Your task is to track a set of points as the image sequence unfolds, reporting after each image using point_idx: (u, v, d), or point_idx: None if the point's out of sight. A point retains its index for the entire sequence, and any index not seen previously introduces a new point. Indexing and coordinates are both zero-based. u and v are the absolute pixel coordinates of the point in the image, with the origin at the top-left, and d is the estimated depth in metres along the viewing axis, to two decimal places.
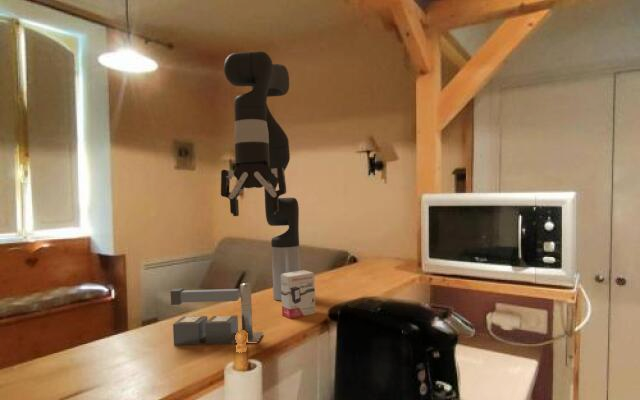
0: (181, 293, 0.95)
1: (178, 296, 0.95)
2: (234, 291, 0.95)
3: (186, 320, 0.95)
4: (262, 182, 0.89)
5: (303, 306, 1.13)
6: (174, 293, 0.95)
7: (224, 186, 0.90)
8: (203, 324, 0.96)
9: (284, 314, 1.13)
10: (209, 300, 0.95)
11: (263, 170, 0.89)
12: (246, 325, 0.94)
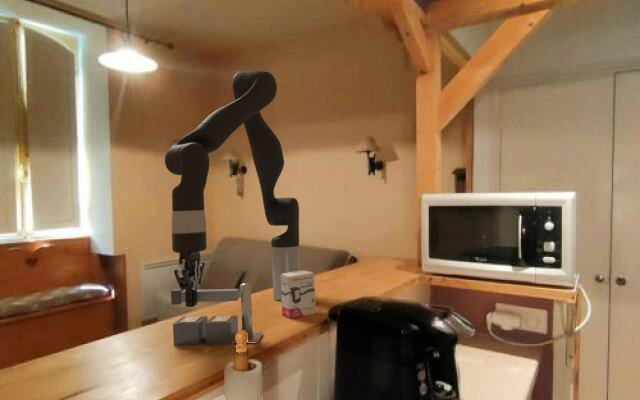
0: (181, 293, 0.96)
1: (178, 296, 0.95)
2: (234, 291, 0.95)
3: (186, 320, 0.95)
4: None
5: (303, 306, 1.13)
6: (174, 293, 0.95)
7: None
8: (203, 324, 0.96)
9: (284, 314, 1.13)
10: (209, 300, 0.95)
11: None
12: (246, 325, 0.94)
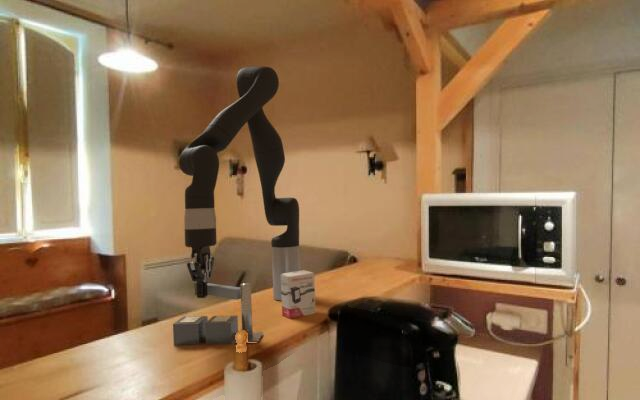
0: None
1: None
2: (235, 290, 0.96)
3: (186, 320, 0.95)
4: None
5: (303, 306, 1.13)
6: (196, 284, 1.04)
7: None
8: (203, 324, 0.96)
9: (284, 314, 1.13)
10: (219, 295, 1.00)
11: None
12: (246, 325, 0.94)
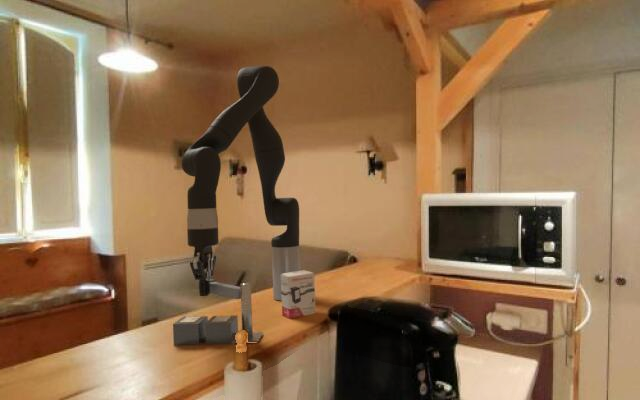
0: None
1: None
2: (236, 289, 0.97)
3: (186, 320, 0.95)
4: None
5: (303, 306, 1.13)
6: None
7: None
8: (203, 324, 0.96)
9: (284, 314, 1.13)
10: (222, 294, 1.01)
11: None
12: (246, 325, 0.94)
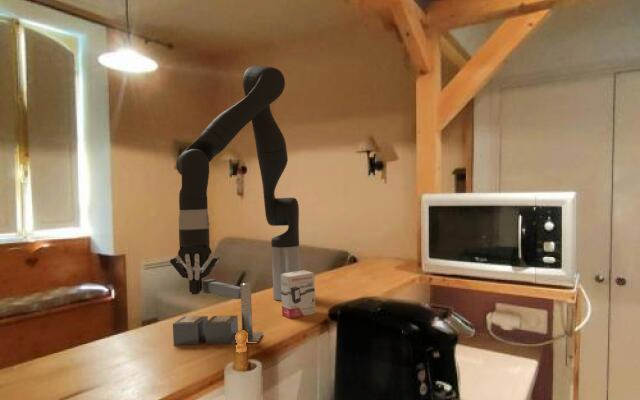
0: (209, 284, 1.06)
1: (206, 286, 1.06)
2: (236, 289, 0.97)
3: (186, 320, 0.95)
4: None
5: (303, 306, 1.13)
6: (204, 283, 1.06)
7: None
8: (203, 324, 0.96)
9: (284, 314, 1.13)
10: (223, 294, 1.01)
11: None
12: (246, 325, 0.94)
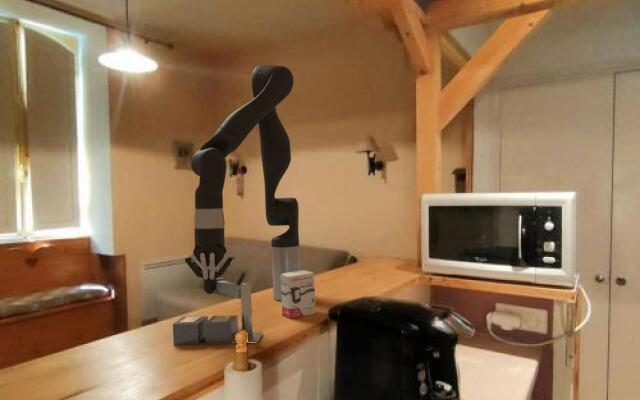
0: None
1: None
2: (237, 289, 0.97)
3: (186, 320, 0.95)
4: None
5: (303, 306, 1.13)
6: None
7: None
8: (203, 324, 0.96)
9: (284, 314, 1.13)
10: (227, 293, 1.02)
11: None
12: (246, 325, 0.94)
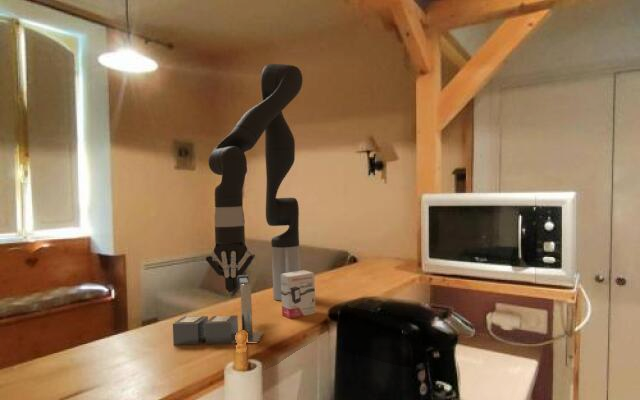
0: (239, 279, 1.10)
1: (238, 281, 1.11)
2: None
3: (186, 320, 0.95)
4: None
5: (303, 306, 1.13)
6: None
7: None
8: (203, 324, 0.96)
9: (284, 314, 1.13)
10: (240, 291, 1.04)
11: None
12: (246, 325, 0.94)
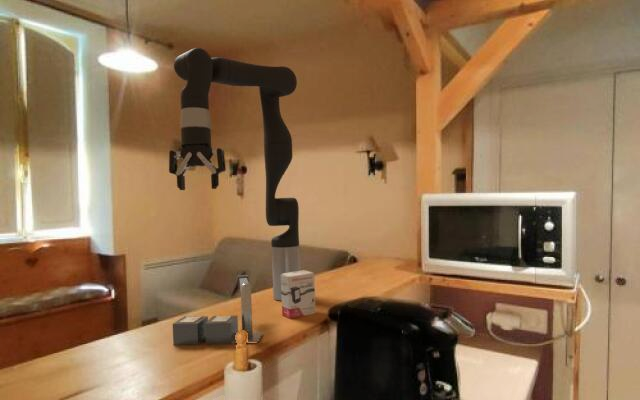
0: (239, 279, 1.10)
1: (238, 281, 1.11)
2: None
3: (186, 320, 0.96)
4: None
5: (303, 306, 1.13)
6: None
7: None
8: (203, 324, 0.96)
9: (284, 314, 1.13)
10: (240, 291, 1.04)
11: None
12: (246, 325, 0.94)
